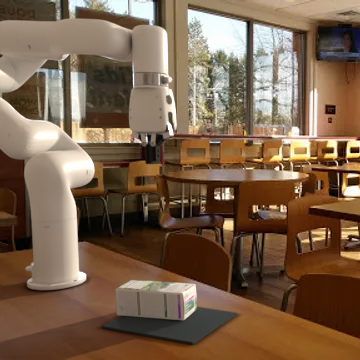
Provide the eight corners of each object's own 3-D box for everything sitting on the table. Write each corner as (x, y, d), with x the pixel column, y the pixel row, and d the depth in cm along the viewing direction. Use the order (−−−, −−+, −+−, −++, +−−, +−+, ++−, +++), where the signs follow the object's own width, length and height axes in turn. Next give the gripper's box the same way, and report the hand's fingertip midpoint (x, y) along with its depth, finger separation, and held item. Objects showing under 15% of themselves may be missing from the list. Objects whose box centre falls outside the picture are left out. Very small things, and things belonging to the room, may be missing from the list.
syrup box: (115, 316, 97) (184, 322, 94) (114, 287, 96) (183, 293, 93) (132, 305, 102) (197, 311, 100) (131, 277, 102) (196, 283, 99)
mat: (101, 327, 92) (101, 325, 92) (154, 302, 106) (154, 300, 106) (192, 344, 85) (192, 342, 85) (236, 314, 99) (236, 312, 99)
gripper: (188, 83, 112) (190, 163, 114) (135, 85, 118) (137, 162, 119) (167, 80, 105) (169, 165, 107) (112, 82, 111) (115, 163, 112)
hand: (152, 163), depth 113 cm, fingers closed
